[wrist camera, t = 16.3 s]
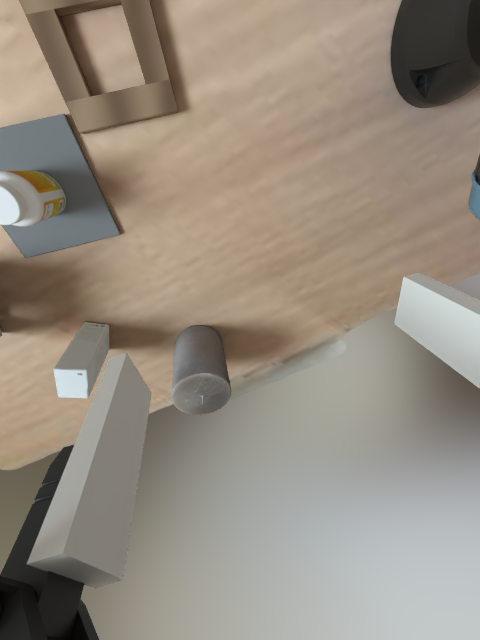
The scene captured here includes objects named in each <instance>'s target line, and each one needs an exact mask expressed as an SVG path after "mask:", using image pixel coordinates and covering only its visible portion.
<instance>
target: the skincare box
mask: <svg viewBox="0 0 480 640" xmlns="http://www.w3.org/2000/svg"><path fill="white" fill-rule="evenodd" d="M108 351H109V325H107V324H98V323H89V322H84V323H83V324H82V326H81V327H80V329H79V331H78V332H77V334H76V335H75V337H74V338H73V340H72V341H71V343H70V344H69V346H68V347H67V349H66V350H65V352H64V354H63V355H62V357H61V358H60V360H59V361H58V363H57V364H56V366H55V367H54V375H55V381H56V386H57V392H58V397H65V398H89V396H90V393H91V391H92V389H93V386H94V384H95V382H96V379H97V377H98V375H99V372H100V370H101V367H102V365H103V363H104V360H105V358H106V356H107V353H108Z"/></svg>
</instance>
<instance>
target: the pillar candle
mask: <svg viewBox="0 0 480 640" xmlns="http://www.w3.org/2000/svg"><path fill="white" fill-rule="evenodd" d="M230 396H231V386H230V381H229V376H228V371H227V365H226V360H225V355H224V350H223V345H222V340H221V337H220V335H219V334H218V332H217V331H215V330H214V329H212V328H210V327H207V326H201V325H200V326H198V325H197V326H192V327H189V328H187V329H185V330H184V331H183V332H182V333H181V334H180V335H179V336H178V337H177V339H176V342H175V353H174V365H173V383H172V394H171V399H172V401H173V404H174V405H175V406H176V407H177V408H178V409H179V410H180V411H182V412H184V413H188V414H194V415H202V414H207V413H211V412H214V411H216V410H218V409H220V408H221V407H222V406H224V405H225V404H226V403H227V402H228V400H229V399H230Z"/></svg>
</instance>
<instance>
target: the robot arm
mask: <svg viewBox="0 0 480 640" xmlns="http://www.w3.org/2000/svg"><path fill="white" fill-rule="evenodd" d="M391 67H392V74H393V78H394V82H395V85H396V87H397V90H398V91H399V93H400V95H401V96H402V97H403V99H404V100H405V101H406V102H408V103H409V104H411V105H413V106H415V107H420V108H428V107H433V106H437V105H441V104H445V103H448V102H450V101H453V100H455V99H457V98H459V97H460V96H462V95H463V94H465V93H467V92H468V91H470V90H471V89H473V88H474V87H476V86H477V85H479V84H480V0H402V2H401V5H400V8H399V11H398V14H397V18H396V22H395V26H394V31H393V37H392V45H391ZM469 209H470V211H471V212H472V213H473V214H474V215H475V216H476V218H478V219H479V220H480V155H479V158H478V162H477V165H476V169H475V170H474V172H473V174H472V188H471V192H470V197H469ZM395 325H396V326H398V327H399V328H400V329H402V330H403V331H404V332H406V333H407V334H408V335H410V336H411V337H412V338H414V339H415V340H416V341H418V342H419V343H420V344H421V345H423V346H424V347H425V348H427V349H428V350H429V351H431V352H432V353H434V354H435V355H436V356H437V357H439V358H440V359H442V360H443V361H444V362H445V363H447V364H448V365H449V366H451V367H452V368H453V369H455V370H456V371H457V372H459V373H460V374H461V375H463V376H464V377H465V378H467V379H468V380H469V381H470V382H472V383H473V384H474V385H476V386H477V387H479V388H480V300H478V299H476V298H474V297H472V296H469V295H467V294H465V293H463V292H461V291H458V290H456V289H454V288H452V287H450V286H447V285H445V284H443V283H441V282H439V281H437V280H434V279H432V278H430V277H428V276H426V275H423V274H421V273H416V274H412V275H408V276H405V277H404V279H403V284H402V288H401V293H400V298H399V303H398V308H397V313H396V318H395ZM150 400H151V391H150V389H149V388H148V386H147V385H146V383H145V381H144V380H143V378H142V376H141V375H140V373H139V372H138V370H137V368H136V367H135V365H134V364H133V362H132V360H131V359H130V357H129V356H128V354H127V353H124V354H120V355H117V356H113V357H109V360H108V362H107V365H106V367H105V370H104V372H103V375H102V377H101V380H100V382H99V385H98V387H97V390H96V392H95V395H94V397H93V400H92V402H91V405H90V407H89V410H88V412H87V415H86V417H85V420H84V422H83V425H82V427H81V430H80V432H79V435H78V437H77V440H76V442H75V445H71V446H68V447H64V448H63V449H62V450H61V452H60V453H59V454H58V456H57V457H56V458H55V460H54V461H53V462H52V464H51V465H50V467H49V469H48V472H47V474H46V476H45V478H44V480H43V482H42V487H41V488H40V489H39V491H38V494H37V496H36V498H35V503H34V504H33V505H32V507H31V509H30V511H29V513H28V516H27V518H26V520H25V522H24V524H23V526H22V529H21V531H20V533H19V535H18V538H17V540H16V542H15V544H14V546H13V548H12V551H11V553H10V555H9V558H8V559H7V562H6V564H5V566H4V568H3V570H2V572H1V574H0V640H99V638H98V636H97V633H96V631H95V628H94V626H93V623H92V621H91V618H90V616H89V613H88V611H87V608H86V606H85V604H84V603H83V602H82V600H81V599H80V598H81V594H82V590H83V586H84V585H87V586H90V587H93V588H99V587H102V586H105V585H108V584H111V583H114V582H117V581H120V580H123V577H124V570H125V563H126V557H127V550H128V544H129V537H130V531H131V524H132V518H133V511H134V504H135V497H136V491H137V485H138V478H139V472H140V465H141V459H142V452H143V446H144V439H145V433H146V426H147V419H148V413H149V406H150Z"/></svg>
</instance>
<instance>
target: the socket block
mask: <svg viewBox="0 0 480 640" xmlns="http://www.w3.org/2000/svg"><path fill="white" fill-rule="evenodd" d="M19 1H20V4H21V6H22V8H23V10H24V12H25V15H26V17H27V19H28V21H29V23H30V26H31V28H32V30H33V32H34V34H35V37H36V39H37V41H38V43H39V45H40V48H41V50H42V52H43V54H44V56H45V59H46V61H47V63H48V65H49V67H50V70H51V72H52V74H53V76H54V78H55V81H56V83H57V85H58V87H59V89H60V92H61V94H62V96H63V98H64V100H65V103H66V105H67V107H68V109H69V111H70V114H71V116H72V118H73V120H74V122H75V125H76V127H77V129H78V131H79V133H82V134H85V133H89V132H94V131H98V130H103V129H107V128H111V127H116V126H120V125H125V124H129V123H134V122H138V121H142V120H147V119H151V118H156V117H160V116H165V115H169V114H173V113H178V110H177V106H176V102H175V98H174V94H173V90H172V87H171V83H170V79H169V75H168V71H167V67H166V64H165V60H164V56H163V52H162V48H161V44H160V40H159V37H158V33H157V29H156V25H155V21H154V17H153V14H152V10H151V6H150V2H149V0H19ZM119 4H122V6H123V10H124V13H125V16H126V20H127V23H128V26H129V30H130V33H131V36H132V40H133V43H134V46H135V49H136V53H137V56H138V59H139V63H140V66H141V69H142V73H143V76H144V79H145V83H146V85H142V86H137V87H132V88H128V89H123V90H119V91H114V92H110V93H105V94H100V95H96V96H92V95H91V92H90V90H89V87H88V85H87V82H86V80H85V77H84V75H83V72H82V70H81V67H80V65H79V62H78V60H77V57H76V55H75V53H74V50H73V48H72V45H71V43H70V40H69V38H68V35H67V33H66V30H65V28H64V25H63V23H62V20H61V18H60V16H65V15H70V14H75V13H80V12H85V11H90V10H95V9H100V8H105V7H109V6H114V5H119Z"/></svg>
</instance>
